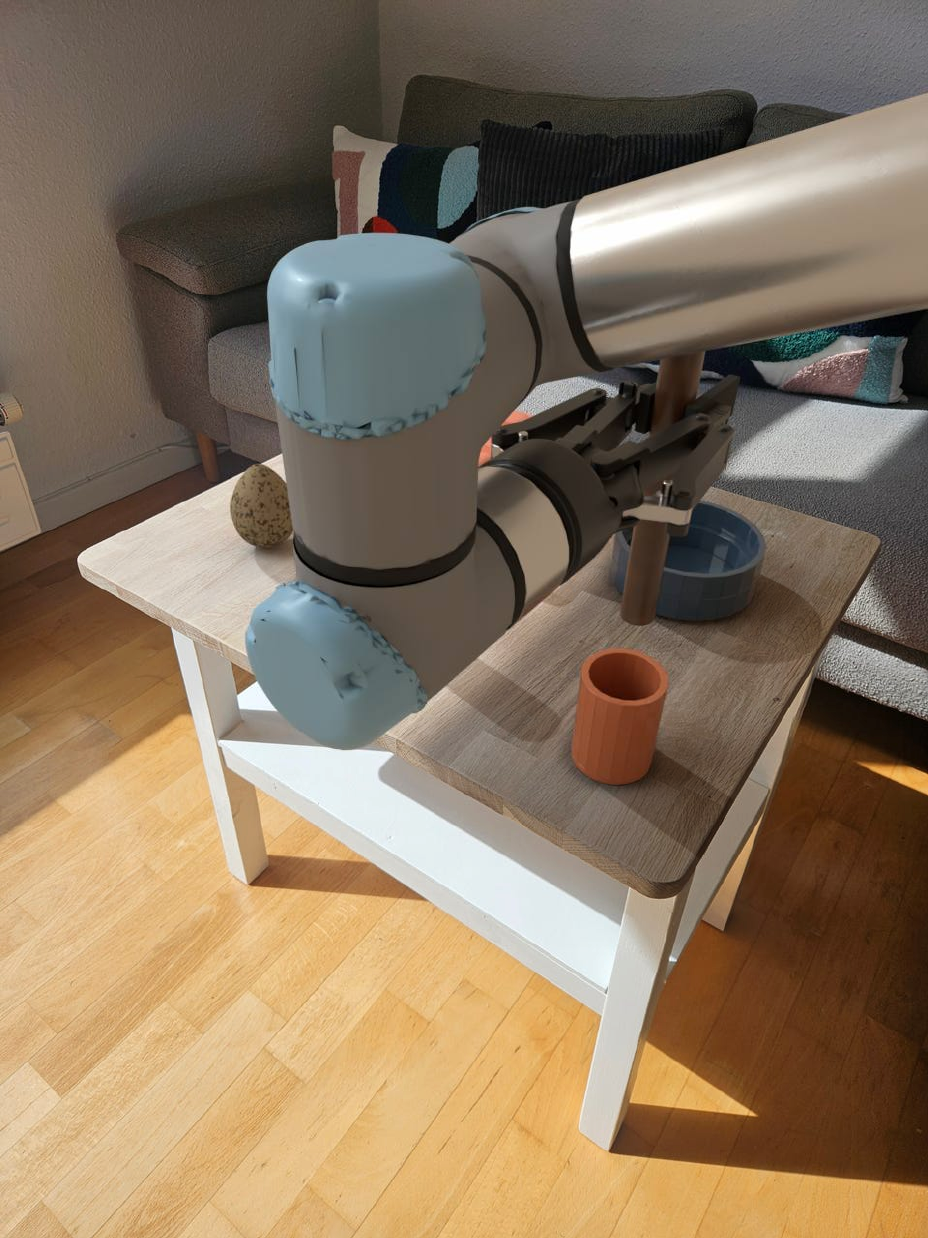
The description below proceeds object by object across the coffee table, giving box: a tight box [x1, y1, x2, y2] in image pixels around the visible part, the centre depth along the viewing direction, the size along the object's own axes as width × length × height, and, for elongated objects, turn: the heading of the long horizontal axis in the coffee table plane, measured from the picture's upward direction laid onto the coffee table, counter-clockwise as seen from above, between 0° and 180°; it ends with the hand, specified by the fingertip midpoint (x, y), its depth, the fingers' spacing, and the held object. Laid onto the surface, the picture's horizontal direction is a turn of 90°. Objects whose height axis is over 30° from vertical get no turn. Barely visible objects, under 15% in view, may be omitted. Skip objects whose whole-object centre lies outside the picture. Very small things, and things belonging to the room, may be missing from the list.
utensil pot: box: [570, 647, 670, 786], centre depth 71 cm, size 7×7×9 cm
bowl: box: [609, 499, 767, 622], centre depth 92 cm, size 15×15×6 cm
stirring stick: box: [619, 351, 706, 627], centre depth 59 cm, size 3×3×24 cm
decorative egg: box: [229, 463, 293, 549], centre depth 96 cm, size 7×7×10 cm
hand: (708, 388), depth 60 cm, fingers closed on stirring stick, 3 cm apart
